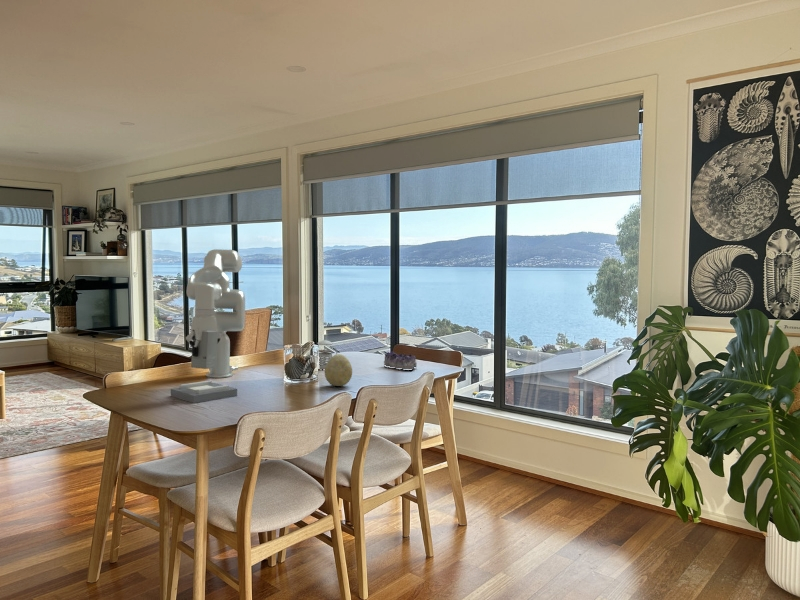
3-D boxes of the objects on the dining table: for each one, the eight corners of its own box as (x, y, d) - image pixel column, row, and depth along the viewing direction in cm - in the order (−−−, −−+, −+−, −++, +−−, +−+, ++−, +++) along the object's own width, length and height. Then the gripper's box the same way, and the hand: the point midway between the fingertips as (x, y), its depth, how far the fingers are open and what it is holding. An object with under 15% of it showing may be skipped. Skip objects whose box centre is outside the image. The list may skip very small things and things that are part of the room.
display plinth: (213, 389, 272) (213, 379, 271) (237, 395, 260) (237, 385, 260) (170, 395, 256) (170, 385, 256) (194, 403, 245) (194, 391, 244)
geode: (377, 368, 337) (378, 350, 338) (388, 368, 347) (389, 350, 348) (409, 371, 327) (411, 352, 328) (420, 371, 337) (421, 352, 338)
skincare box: (190, 367, 256) (190, 329, 255) (203, 365, 262) (203, 328, 261) (206, 369, 252) (206, 331, 251) (218, 367, 259) (218, 329, 258)
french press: (318, 366, 337) (318, 321, 336) (338, 367, 335) (339, 321, 334) (313, 369, 327) (313, 322, 326) (334, 370, 326) (335, 323, 324)
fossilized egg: (324, 383, 291) (325, 352, 290) (352, 384, 292) (352, 352, 291) (323, 389, 278) (324, 356, 277) (351, 389, 279) (352, 356, 278)
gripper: (217, 311, 265) (217, 352, 266) (180, 313, 252) (180, 356, 253) (228, 313, 260) (227, 354, 261) (190, 314, 247) (190, 358, 248)
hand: (204, 355), depth 257 cm, fingers closed on skincare box, 7 cm apart
